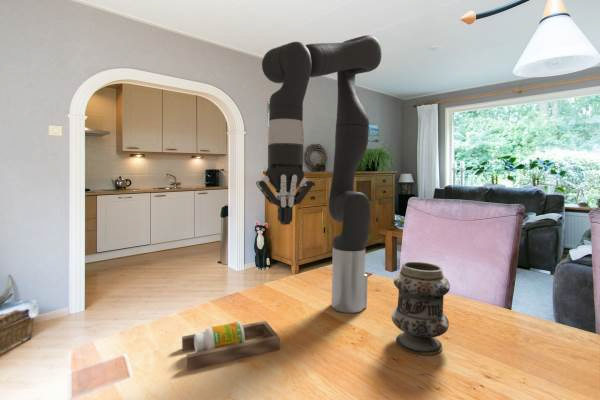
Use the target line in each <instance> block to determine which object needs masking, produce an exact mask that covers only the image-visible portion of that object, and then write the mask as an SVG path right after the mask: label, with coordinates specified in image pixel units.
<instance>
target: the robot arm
mask: <svg viewBox="0 0 600 400" xmlns="http://www.w3.org/2000/svg"><path fill="white" fill-rule="evenodd" d="M382 55H383V54H382V48H381V43H380V41H379V40H378V39H377V38H376V37H375V36H373V35H370V34H369V35H368V34H367V35H362V36H358V37H357V36H356V37H353V38H351V39H347V40H344V41H342V42H323V43H322V42H321V43H319V42H317V43H308V44H304V43H303V42H300V41H292V42H289V43H286V44H282V45H280V46H277V47H274V48H271V49H269V50H268V51H266V53H265V54H264V56H263V58H262V61H261V70H262V71H263V75H264V76H265V77H266V78H267V80H269V81H270V82H272V83H275V84H282V85H281V87H280V89H278V90H276V91H275V92H274V93H272V94H271V96H270V97H269V116H268V117H269V118H268V119H269V123H268V131H267V169H266V172H265V176H264V177H263V178H261V179H259V180H257V181H256V182H255V185H256V187H257V188H258V189H259V190H260V192H261V193H262V194H263V196H264V198H266V200H267V201H268V203H269V204H272V205H275V206H276V207H277V220H278V222H279V224H281V225H283V226H284V225H285V226H287V225H290V224H291V223H292V221H293V207H294V206H297V205H300V204H301V203H302V202H303V200H304V199H305V198H306V196H307V194H308V193H309V192H310V190H311V189H312V187H313V186H314V182H313V181H312V180H309V179H308V178H307V177H306V176H305V172H304V170H303V165H304V143H305V138H304V136H305V135H304V126H303V125H304V123H303V116H304V115H303V114H304V113H303V112H304V110H303V109H304V108H303V107H304V106H303V104H304V99H305V96H306V94H307V89H308V85H309V82H310V78H316V77H321V76H327V75H331V74H335V73H336V74H337V78H336V80H337V106H336V108H337V109H336V121H335V136H334V158H333V168H332V170H333V171H332V172H333V173H332V177H331V178H332V179H331V184H330V191H329V197H328V212H329V213H328V214H329V216H330V217H331V218H332V219H333V220H334V221H336V222H339V223H342V228H341V231H340V232H341V233H339V234H338V235H335V236H334V237H333V239H332V262H331V263H332V265H331V266H332V267H331V268H332V269H331V271H332V272H331V308H333V309H334V310H335V311H337V312H341V313H346V314H354V313H359V312H362V311H363V310H364V309H366V308H367V307H368V278H369V277H368V274H366V247H367V246H366V245H367V243H368V239H369V236H370V227H371V226H370V225H371V215H372V214H371V213H372V211H371V210H372V209H371V208H372V207H371V203H370V200H369V197H368V196H367V195H366V194H365V193H363V192H359V191H354V183H355V175H356V172H357V169H358V167H359V166H360V163H361V162H362V159H363V157H364V155H365V153H366V150H367V148H368V143H369V134H370V133H369V132H370V120H369V117H368V114H367V113H366V110H365V108H364V106H363V105H362V103H361V101H360V99H359V97H358V95H357V91H356V75H359V74H363V73H369V72H372V71H374V70H376V69H377V68H378V67H379V66H380V64H381V62H382ZM270 185H271V186H272V188H273V189H274V192H273V191H272V190H271V189H270ZM298 187H299V189H298ZM297 189H298V190H297ZM274 193H275V194H274Z"/></svg>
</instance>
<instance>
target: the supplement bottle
mask: <svg viewBox="0 0 600 400" xmlns="http://www.w3.org/2000/svg"><path fill="white" fill-rule="evenodd" d="M242 325H243V324H242V322H240V321H236V322H235V321H234V322H231V323H226V324H218V325H215V326H209V327H207V328H206V329H205V330H204V332H205V333H204V332H197V333H194V334H195V335H194V347H195V349H194V353H197V352H201V351H206V350H211V349H215V348H220V347H225V346H230V345H234V344H239V343H244V342H246V338H245V335H244V329H243V326H242Z"/></svg>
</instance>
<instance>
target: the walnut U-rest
mask: <svg viewBox="0 0 600 400" xmlns="http://www.w3.org/2000/svg"><path fill="white" fill-rule="evenodd" d="M242 326H243V329H244V335H245V339H249V338H252V337H257V336H261V335H263V336H264V337H263V338H259V339H253V340H249V341H245V342H244V343H239V344H234V345H230V346H225V347H220V348H215V349H211V350H206V351H201V352H197V353H195V352H193V353H188V354H186V370H187V371H188V372H189V371H193V370H196V369H201V368H205V367H210V366H215V365H219V364H222V363H228V362H231V361H237V360H240V359H243V358H244V359H245V358H249V357H253V356H257V355H261V354H266V353H270V352H274V351H279V350H281V337H280V336H279V335H278V334H277V332H276V331H275V330H274V329H273V327H272V326H271V325H270V323H268V322H267V320H263V321H258V322H257V321H256V322H253V323H247V324H242ZM203 333H205V331H203ZM195 334H196V333H194V334H189V335H185V336H184V335H183V336H182V338H181V339H182V341H181V347H182V351H183V352H185V351H190V350H195V347H194V335H195Z"/></svg>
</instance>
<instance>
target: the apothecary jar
mask: <svg viewBox="0 0 600 400" xmlns="http://www.w3.org/2000/svg"><path fill="white" fill-rule="evenodd" d="M393 284H394V286H395V288H397V290H398V298H397V306H396V307H394V308H393V310H392V311H391V321H392V323H393V324H394V325H395V327H396V328H397V329H399V330H400V331H402V332H401V333H399V334H398V335H397V336H396V337H395V342H396V344H397V346H399V347H400V348H401V349H403V350H405V351H406V352H409V353H412V354H417V355H420V356H421V355H422V356H432V355H437V354H439V353H440V352H441V351H442V350H443V344H442V343H441V342H440V340H438V338H437V337H440V336H443V335H444V334H446V332H447V331H448V329H449V326H450V322H449V320H448V317H447V315H446V314H445V313H444V296H446V295H447V294H448V293H449V291H450V289H451V284H450V282H449V280H448V279H447V278H446V277H445V276H444V273H443V267H441V266H440V265H438V264H436V263H430V262H427V261H426V262H424V261H415V260H414V261H412V260H411V261H405V262H403V263H402V265H401V269H400V270H399V272H396V274H395V275H394V277H393Z"/></svg>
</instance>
